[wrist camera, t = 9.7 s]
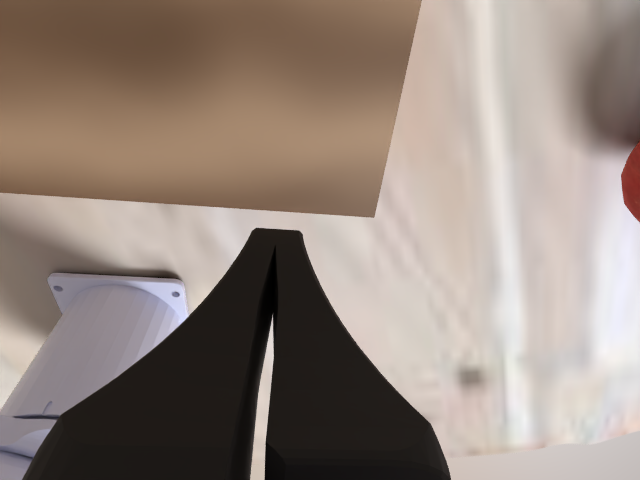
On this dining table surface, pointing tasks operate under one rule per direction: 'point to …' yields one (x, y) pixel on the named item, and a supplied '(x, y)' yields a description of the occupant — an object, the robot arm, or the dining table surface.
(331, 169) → the brown wooden block
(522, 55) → the dining table surface
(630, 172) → the pomegranate
